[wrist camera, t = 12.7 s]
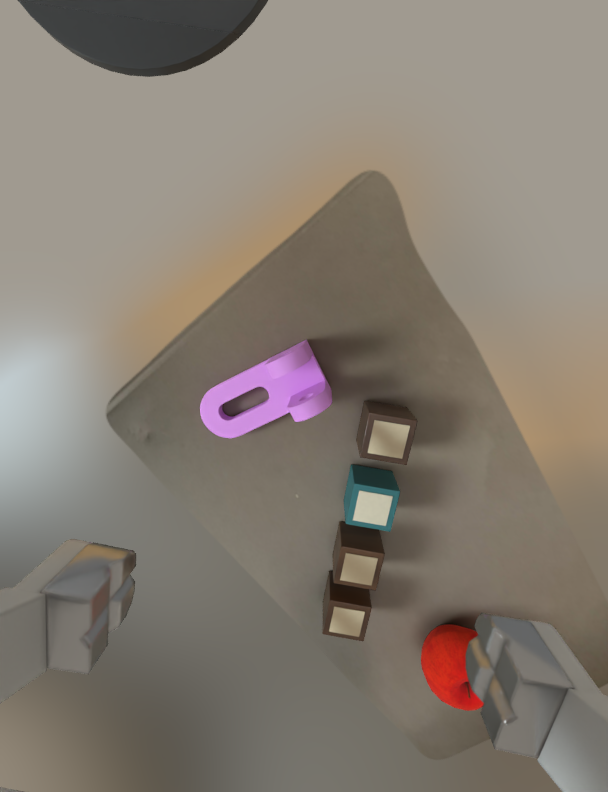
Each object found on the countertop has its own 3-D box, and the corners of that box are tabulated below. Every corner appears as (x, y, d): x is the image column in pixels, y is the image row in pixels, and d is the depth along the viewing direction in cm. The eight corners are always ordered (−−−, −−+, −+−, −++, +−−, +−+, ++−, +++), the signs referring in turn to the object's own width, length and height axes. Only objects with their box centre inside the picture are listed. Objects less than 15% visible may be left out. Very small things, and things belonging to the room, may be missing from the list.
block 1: (339, 521, 41) (341, 546, 36) (378, 527, 41) (385, 554, 36) (332, 554, 42) (333, 584, 37) (370, 561, 42) (376, 591, 37)
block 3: (364, 400, 37) (369, 412, 33) (407, 407, 37) (418, 420, 33) (356, 440, 38) (359, 457, 34) (397, 447, 38) (407, 465, 34)
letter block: (351, 464, 39) (354, 484, 35) (392, 471, 39) (400, 492, 34) (343, 500, 40) (345, 524, 36) (383, 507, 40) (390, 532, 36)
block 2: (329, 570, 42) (329, 601, 38) (367, 577, 42) (372, 608, 38) (322, 601, 43) (322, 635, 39) (359, 608, 43) (363, 642, 39)
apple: (475, 599, 42) (506, 659, 35) (489, 653, 44) (521, 722, 36) (406, 613, 43) (422, 674, 36) (422, 665, 45) (440, 734, 37)
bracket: (306, 339, 36) (301, 347, 29) (331, 389, 37) (332, 407, 30) (194, 396, 38) (166, 415, 31) (221, 441, 39) (199, 469, 32)
